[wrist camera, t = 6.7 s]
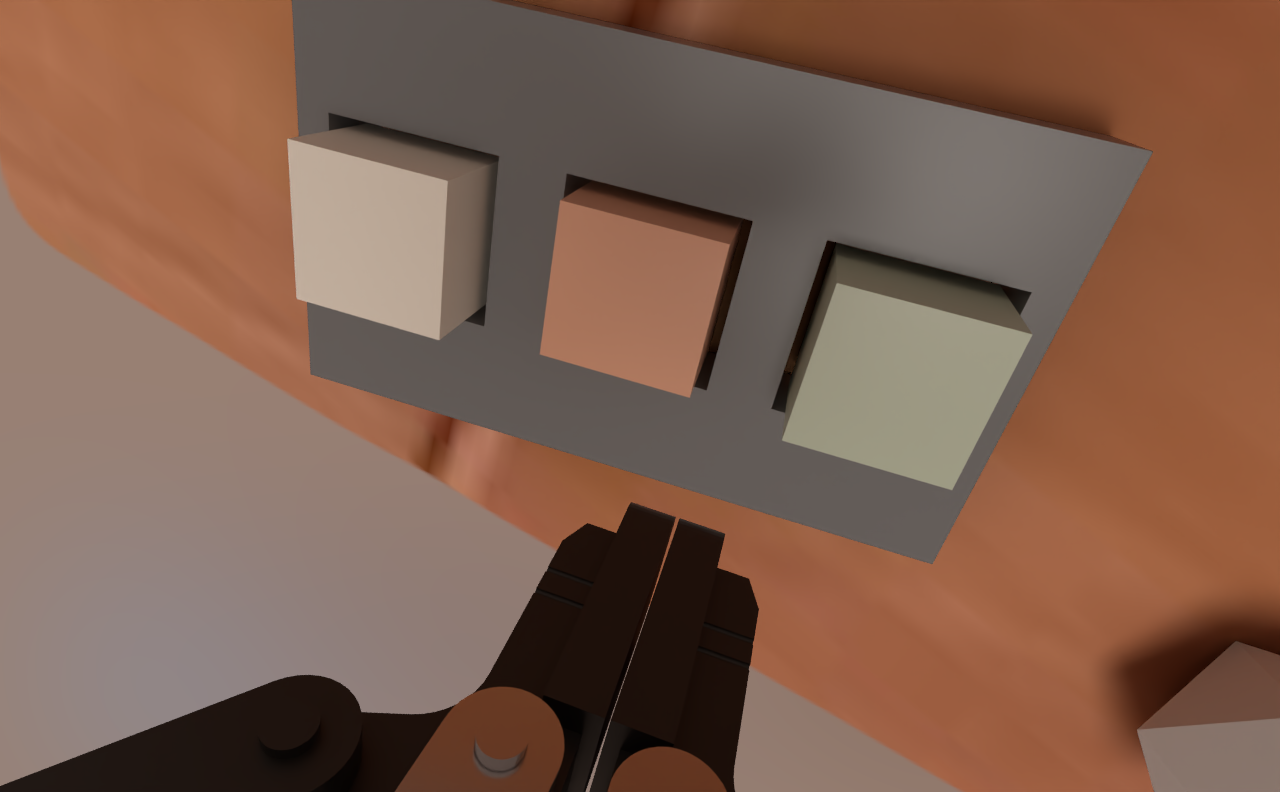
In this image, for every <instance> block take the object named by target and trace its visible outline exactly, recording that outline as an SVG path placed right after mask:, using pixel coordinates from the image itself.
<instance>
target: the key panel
mask: <svg viewBox="0 0 1280 792" xmlns="http://www.w3.org/2000/svg"><path fill="white" fill-rule="evenodd" d="M292 11H293V31H294V51H295V71H296V90H297V110H298V130H299V136H304V135H310V134H315V133H320V132H325V131H330V130H335V129H341V128H346V127H351V126H356V125H361V124H367V123H368V124H372V125H375V126H379V127H381V126H383V127H387V128H391V129H395V130H399V131H403V132H407V133H411V134H414V135H418V136H422V137H426V138H430V139H434V140H438V141H442V142H446V143H450V144H454V145H457V146H461V147H465V148H469V149H473V150H477V151H481V152H485V153H489V154H493V155H497V156H499V163H498V174H497V186H496V197H495V209H494V220H493V232H492V243H491V255H490V266H489V278H488V289H487V301H486V304H485V305H484V306H483V307H481V308H480V309H479V310H478V311H476V312H475V313H474V314H473V315H471V316H470V317H469V318H467V319H466V320H465V321H464V322H462V323H461V324H460V325H458V326H457V327H456V328H455V329H453V330H452V331H451V332H449V333H448V334H447V335H446V336H444V337H443V338H442V339H440V340H436V339H433V338H429V337H426V336H423V335H419V334H416V333H412V332H409V331H405V330H402V329H399V328H395V327H392V326H388V325H385V324H381V323H378V322H375V321H371V320H368V319H364V318H361V317H357V316H354V315H351V314H347V313H344V312H340V311H337V310H334V309H330V308H327V307H323V306H320V305H316V304H313V303H310V302H307V310H308V330H309V350H310V370H311V375H315V376H318V377H321V378H324V379H328V380H331V381H334V382H338V383H341V384H344V385H347V386H351V387H354V388H357V389H360V390H364V391H367V392H370V393H374V394H377V395H380V396H383V397H387V398H390V399H393V400H396V401H400V402H403V403H406V404H410V405H413V406H416V407H419V408H423V409H426V410H429V411H432V412H436V413H439V414H442V415H446V416H449V417H452V418H455V419H459V420H462V421H465V422H468V423H472V424H475V425H478V426H482V427H485V428H488V429H491V430H495V431H498V432H501V433H504V434H508V435H511V436H514V437H518V438H521V439H524V440H527V441H531V442H534V443H537V444H540V445H544V446H547V447H550V448H554V449H557V450H560V451H563V452H567V453H570V454H573V455H576V456H580V457H583V458H586V459H590V460H593V461H596V462H599V463H603V464H606V465H609V466H612V467H616V468H619V469H622V470H626V471H629V472H632V473H635V474H639V475H642V476H645V477H648V478H652V479H655V480H658V481H662V482H665V483H668V484H671V485H675V486H678V487H681V488H684V489H688V490H691V491H694V492H698V493H701V494H704V495H707V496H711V497H714V498H717V499H720V500H724V501H727V502H730V503H734V504H737V505H740V506H743V507H747V508H750V509H753V510H756V511H760V512H763V513H766V514H770V515H773V516H776V517H779V518H783V519H786V520H789V521H792V522H796V523H799V524H802V525H806V526H809V527H812V528H815V529H819V530H822V531H825V532H828V533H832V534H835V535H838V536H842V537H845V538H848V539H851V540H855V541H858V542H861V543H864V544H868V545H871V546H874V547H878V548H881V549H884V550H887V551H891V552H894V553H897V554H900V555H904V556H907V557H910V558H914V559H917V560H920V561H923V562H927V563H930V564H933V562H934V560H935V558H936V556H937V554H938V553H939V551H940V549H941V547H942V545H943V543H944V541H945V540H946V538H947V536H948V534H949V532H950V530H951V528H952V526H953V525H954V523H955V521H956V519H957V517H958V515H959V513H960V511H961V510H962V508H963V506H964V504H965V502H966V500H967V498H968V497H969V495H970V493H971V491H972V489H973V487H974V485H975V483H976V482H977V480H978V478H979V476H980V474H981V472H982V470H983V468H984V467H985V465H986V463H987V461H988V459H989V457H990V455H991V454H992V452H993V450H994V448H995V446H996V444H997V442H998V440H999V439H1000V437H1001V435H1002V433H1003V431H1004V429H1005V427H1006V426H1007V424H1008V422H1009V420H1010V418H1011V416H1012V414H1013V412H1014V411H1015V409H1016V407H1017V405H1018V403H1019V401H1020V399H1021V397H1022V396H1023V394H1024V392H1025V390H1026V388H1027V386H1028V384H1029V383H1030V381H1031V379H1032V377H1033V375H1034V373H1035V371H1036V369H1037V368H1038V366H1039V364H1040V362H1041V360H1042V358H1043V356H1044V354H1045V353H1046V351H1047V349H1048V347H1049V345H1050V343H1051V341H1052V340H1053V338H1054V336H1055V334H1056V332H1057V330H1058V328H1059V326H1060V325H1061V323H1062V321H1063V319H1064V317H1065V315H1066V313H1067V312H1068V310H1069V308H1070V306H1071V304H1072V302H1073V300H1074V298H1075V297H1076V295H1077V293H1078V291H1079V289H1080V287H1081V285H1082V283H1083V282H1084V280H1085V278H1086V276H1087V274H1088V272H1089V270H1090V269H1091V267H1092V265H1093V263H1094V261H1095V259H1096V257H1097V255H1098V254H1099V252H1100V250H1101V248H1102V246H1103V244H1104V242H1105V240H1106V239H1107V237H1108V235H1109V233H1110V231H1111V229H1112V227H1113V226H1114V224H1115V222H1116V220H1117V218H1118V216H1119V214H1120V212H1121V211H1122V209H1123V207H1124V205H1125V203H1126V201H1127V199H1128V198H1129V196H1130V194H1131V192H1132V190H1133V188H1134V186H1135V184H1136V183H1137V181H1138V179H1139V177H1140V175H1141V173H1142V171H1143V169H1144V168H1145V166H1146V164H1147V162H1148V160H1149V158H1150V156H1151V155H1152V153H1153V151H1150V150H1147V149H1145V148H1142V147H1139V146H1137V145H1134V144H1131V143H1128V142H1126V141H1123V140H1120V139H1118V138H1115V137H1112V136H1108V135H1104V134H1099V133H1095V132H1090V131H1086V130H1082V129H1077V128H1073V127H1068V126H1064V125H1060V124H1055V123H1051V122H1046V121H1042V120H1037V119H1033V118H1029V117H1024V116H1020V115H1015V114H1011V113H1007V112H1002V111H998V110H993V109H989V108H985V107H980V106H976V105H971V104H967V103H963V102H958V101H954V100H949V99H945V98H941V97H936V96H932V95H927V94H923V93H918V92H914V91H910V90H905V89H901V88H896V87H892V86H888V85H883V84H879V83H874V82H870V81H866V80H861V79H857V78H852V77H848V76H844V75H839V74H835V73H830V72H826V71H822V70H817V69H813V68H808V67H804V66H799V65H795V64H791V63H786V62H782V61H777V60H773V59H769V58H764V57H760V56H755V55H751V54H747V53H742V52H738V51H733V50H729V49H725V48H720V47H716V46H711V45H707V44H703V43H698V42H694V41H689V40H685V39H680V38H676V37H672V36H667V35H663V34H658V33H654V32H650V31H645V30H641V29H636V28H632V27H628V26H623V25H619V24H614V23H610V22H606V21H601V20H597V19H592V18H588V17H584V16H579V15H575V14H570V13H566V12H561V11H557V10H553V9H548V8H544V7H539V6H535V5H531V4H526V3H522V2H517V1H513V0H292ZM592 180H594V181H598V182H602V183H606V184H610V185H614V186H618V187H622V188H626V189H630V190H634V191H637V192H641V193H645V194H649V195H653V196H657V197H661V198H665V199H669V200H673V201H677V202H680V203H684V204H688V205H692V206H696V207H700V208H704V209H708V210H712V211H716V212H720V213H723V214H727V215H731V216H735V217H739V218H743V219H747V220H751V221H753V224H752V227H751V231H750V235H749V238H748V242H747V246H746V249H745V253H744V257H743V260H742V264H741V267H740V271H739V275H738V278H737V282H736V286H735V289H734V293H733V297H732V300H731V304H730V308H729V311H728V315H727V319H726V322H725V326H724V330H723V333H722V337H721V340H720V344H719V348H718V351H717V354H715V353H711V352H707V355H706V358H705V360H704V363H703V365H702V368H701V370H700V373H699V375H698V378H697V381H696V383H695V386H694V388H693V391H692V393H691V396H690V398H689V397H685V396H682V395H678V394H675V393H671V392H668V391H664V390H661V389H657V388H654V387H651V386H647V385H644V384H640V383H637V382H633V381H630V380H626V379H623V378H619V377H616V376H613V375H609V374H606V373H602V372H599V371H595V370H592V369H588V368H585V367H581V366H578V365H574V364H571V363H568V362H564V361H561V360H557V359H554V358H550V357H547V356H543V355H540V348H541V341H542V333H543V326H544V318H545V311H546V303H547V296H548V288H549V281H550V273H551V265H552V258H553V250H554V243H555V235H556V228H557V220H558V213H559V205H560V200H561V199H563V198H565V197H566V196H568V195H570V194H571V193H573V192H575V191H576V190H578V189H579V188H581V187H583V186H584V185H586V184H588V183H589V182H591V181H592ZM827 240H829V241H833V242H837V243H841V244H845V245H849V246H853V247H856V248H860V249H864V250H868V251H872V252H876V253H880V254H884V255H888V256H892V257H896V258H900V259H903V260H907V261H911V262H915V263H919V264H923V265H927V266H931V267H935V268H939V269H943V270H946V271H950V272H954V273H958V274H962V275H966V276H970V277H974V278H978V279H982V280H986V281H990V282H993V283H997V284H998V285H1000V286H1001V288H1002V289H1003V291H1004V292H1005V294H1006V295H1007V297H1008V298H1009V300H1010V301H1011V303H1012V304H1013V306H1014V307H1015V309H1016V310H1017V312H1018V313H1019V315H1020V316H1021V318H1022V319H1023V321H1024V322H1025V324H1026V325H1027V327H1028V328H1029V330H1030V331H1031V333H1032V334H1033V335H1032V337H1031V339H1030V341H1029V342H1028V344H1027V346H1026V348H1025V350H1024V352H1023V354H1022V356H1021V358H1020V360H1019V362H1018V364H1017V366H1016V368H1015V370H1014V371H1013V373H1012V375H1011V377H1010V379H1009V381H1008V383H1007V385H1006V387H1005V389H1004V391H1003V393H1002V395H1001V397H1000V399H999V400H998V402H997V404H996V406H995V408H994V410H993V412H992V414H991V416H990V418H989V420H988V422H987V424H986V426H985V428H984V429H983V431H982V433H981V435H980V437H979V439H978V441H977V443H976V445H975V447H974V449H973V451H972V453H971V455H970V457H969V458H968V460H967V462H966V464H965V466H964V468H963V470H962V472H961V474H960V476H959V478H958V480H957V482H956V484H955V486H954V487H953V489H952V490H950V489H946V488H943V487H939V486H936V485H933V484H929V483H926V482H922V481H919V480H915V479H912V478H909V477H905V476H902V475H898V474H895V473H891V472H888V471H885V470H881V469H878V468H874V467H871V466H868V465H864V464H861V463H857V462H854V461H850V460H847V459H844V458H840V457H837V456H833V455H830V454H826V453H823V452H820V451H816V450H813V449H809V448H806V447H802V446H799V445H796V444H792V443H789V442H785V441H782V435H783V427H784V419H785V411H786V403H787V395H788V387H789V381H790V378H791V375H789V374H786V373H783V372H784V369H785V366H786V363H787V360H788V357H789V354H790V351H791V348H792V345H793V342H794V339H795V336H796V333H797V330H798V327H799V324H800V321H801V318H802V315H803V312H804V309H805V306H806V303H807V299H808V296H809V293H810V290H811V287H812V284H813V281H814V278H815V275H816V272H817V269H818V266H819V263H820V260H821V257H822V254H823V251H824V248H825V245H826V242H827Z"/></svg>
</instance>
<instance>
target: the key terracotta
mask: <svg viewBox="0 0 1280 792" xmlns="http://www.w3.org/2000/svg"><path fill="white" fill-rule="evenodd" d="M742 223H743V218H739V217H735V216H731V215H727V214H723V213H720V212H716V211H712V210H708V209H704V208H700V207H696V206H692V205H688V204H684V203H680V202H677V201H673V200H669V199H665V198H661V197H657V196H653V195H649V194H645V193H641V192H637V191H634V190H630V189H626V188H622V187H618V186H614V185H610V184H606V183H602V182H598V181H594V180H592V181H591V182H589V183H588V184H586V185H584V186H583V187H581V188H579V189H578V190H576V191H575V192H573V193H571V194H570V195H568V196H566V197H565V198H563V199H561V200H560V205H559V213H558V220H557V228H556V235H555V243H554V250H553V258H552V265H551V273H550V281H549V288H548V296H547V303H546V311H545V318H544V326H543V333H542V341H541V348H540V355H543V356H547V357H550V358H554V359H557V360H561V361H564V362H568V363H571V364H574V365H578V366H581V367H585V368H588V369H592V370H595V371H599V372H602V373H606V374H609V375H613V376H616V377H619V378H623V379H626V380H630V381H633V382H637V383H640V384H644V385H647V386H651V387H654V388H657V389H661V390H664V391H668V392H671V393H675V394H678V395H682V396H685V397H689V398H690V396H691V393H692V391H693V388H694V386H695V383H696V381H697V378H698V375H699V373H700V370H701V368H702V365H703V363H704V360H705V358H706V355H707V352H708V350H709V347H710V343H711V339H712V336H713V332H714V328H715V324H716V321H717V317H718V313H719V309H720V306H721V302H722V298H723V294H724V291H725V287H726V283H727V279H728V276H729V272H730V268H731V264H732V261H733V257H734V253H735V249H736V246H737V242H738V238H739V234H740V231H741V227H742Z"/></svg>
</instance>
